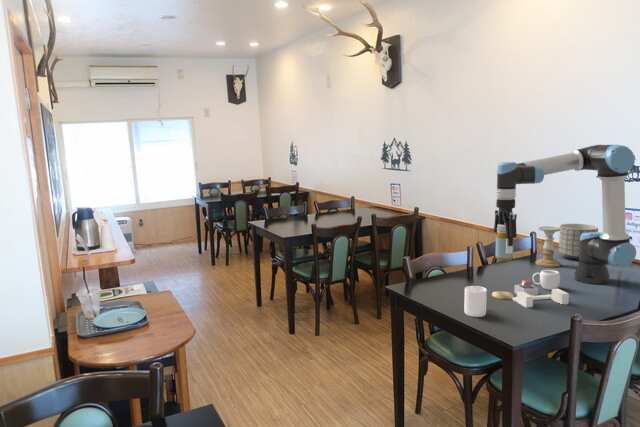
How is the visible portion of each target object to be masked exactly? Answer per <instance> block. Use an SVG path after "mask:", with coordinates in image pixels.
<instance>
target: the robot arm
mask: <svg viewBox="0 0 640 427" xmlns="http://www.w3.org/2000/svg"><path fill="white" fill-rule="evenodd" d="M635 162H636V159H635V154H634V152H633V151H632V149H631V148H629V147H628V146H626V145H620V144H594V145H590V146H586V147H582V148H577V149H574V150H572V151H571V152H570V153H565V154H560V155H554V156H549V157H545V158H540V159H535V160H530V161H524V162H521V163H520V162H519V163H517V162H516V161H501V162H499V163H498V165H497V170H496V171H497V172H496V191H495V193H496V202H495V203H496V205H495V206H496V208H498V209H497V210H496V209H495V210H494V226H493V232H494V233H495V234H497V225H498V224H505V226H506V232H507V237H506V254H507V253H512V251H513V252H514V239H515V238H517V237H518V236H517V235H518V234H517V214H516V213H513V212H514V211H513V209H514V208H516V196H517V195H516V194H517V193H516V191H517V185H524V184H525V185H527V184H528V185H529V184H533V185H535V184H541V183H542V182H543V180H544V178H545V176H547V175H553V174H557V173H561V172H567V171H572V170H574V171H577V172H578V171H596V172H597V178H598V179H599V180H601V198H602V200H601V202H602V203H601V204H602V205H601V206H602V232H601V231H600V232H599V231H598V232H588V233H582V234H581V236H580V247H579V260H578V264H577V266H576V268H575V271H574V273H573V279H574V280H576V281H578V282H581V283H586V284H594V285H602V284H603V285H604V284H609V283H610V281H611V276H610V273H609V269H608V266H611V267H615V268H618V269H619V268H626V267H629V265H631V264H632V262H634V260H635V259H636V257H637V248H636V247H635V246H634V244H633V243H631V238H630V237H631V236H630V235H629V234H628V233H627V232H626V191H625V189H626V187H625V184H626V183H625V179H626V178H627V177H628V176H629V175H630V174H629V171H631V170H632V169H633V167H634V166H635ZM607 265H608V266H607Z"/></svg>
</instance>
